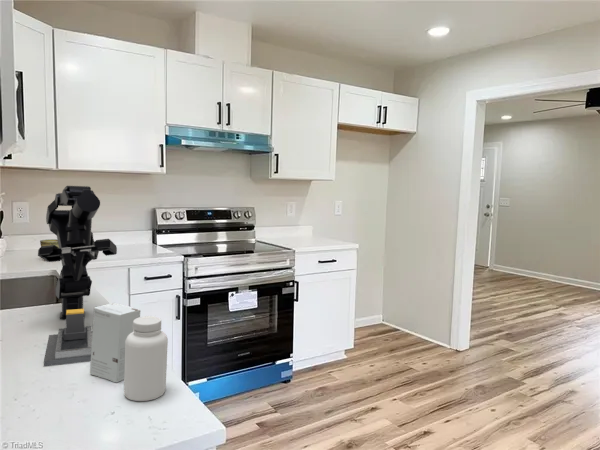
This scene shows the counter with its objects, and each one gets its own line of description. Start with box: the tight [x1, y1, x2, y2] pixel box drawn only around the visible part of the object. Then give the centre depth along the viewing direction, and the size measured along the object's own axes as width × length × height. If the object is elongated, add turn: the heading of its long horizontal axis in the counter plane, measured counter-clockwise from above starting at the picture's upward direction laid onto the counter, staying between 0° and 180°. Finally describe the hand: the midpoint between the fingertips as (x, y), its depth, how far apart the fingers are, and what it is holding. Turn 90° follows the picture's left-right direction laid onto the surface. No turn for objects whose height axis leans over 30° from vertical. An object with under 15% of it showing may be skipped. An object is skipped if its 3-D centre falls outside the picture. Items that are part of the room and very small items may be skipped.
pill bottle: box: [123, 315, 169, 402], centre depth 87 cm, size 8×8×15 cm
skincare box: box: [89, 302, 141, 383], centre depth 95 cm, size 8×6×15 cm
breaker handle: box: [64, 308, 86, 340], centre depth 112 cm, size 4×5×7 cm
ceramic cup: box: [39, 238, 59, 263], centre depth 217 cm, size 13×10×10 cm
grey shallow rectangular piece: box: [43, 325, 93, 368], centre depth 108 cm, size 18×12×3 cm, turn 26°
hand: (76, 280), depth 116 cm, fingers closed
